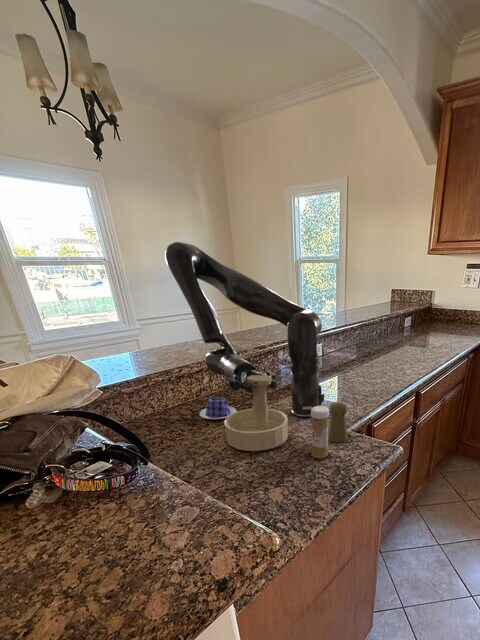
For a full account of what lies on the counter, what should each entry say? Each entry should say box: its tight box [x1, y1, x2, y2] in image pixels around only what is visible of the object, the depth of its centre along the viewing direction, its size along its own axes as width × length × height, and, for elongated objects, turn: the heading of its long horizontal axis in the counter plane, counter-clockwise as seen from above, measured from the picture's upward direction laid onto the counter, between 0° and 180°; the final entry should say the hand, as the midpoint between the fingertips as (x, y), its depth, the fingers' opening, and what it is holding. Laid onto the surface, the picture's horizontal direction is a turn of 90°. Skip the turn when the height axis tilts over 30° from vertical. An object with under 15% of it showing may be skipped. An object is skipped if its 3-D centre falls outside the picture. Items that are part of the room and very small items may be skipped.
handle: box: [247, 375, 271, 430], centre depth 98 cm, size 5×6×15 cm
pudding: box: [199, 396, 237, 420], centre depth 118 cm, size 12×12×5 cm
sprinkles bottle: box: [310, 405, 330, 459], centre depth 92 cm, size 5×5×14 cm
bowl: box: [224, 408, 289, 452], centre depth 102 cm, size 18×18×6 cm
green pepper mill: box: [328, 401, 348, 444], centre depth 102 cm, size 6×6×11 cm
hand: (263, 387), depth 94 cm, fingers closed on handle, 6 cm apart
